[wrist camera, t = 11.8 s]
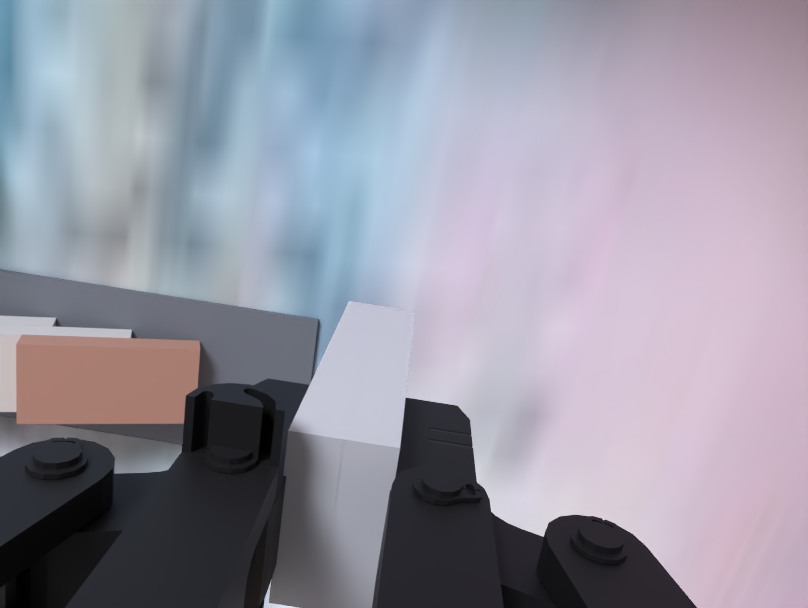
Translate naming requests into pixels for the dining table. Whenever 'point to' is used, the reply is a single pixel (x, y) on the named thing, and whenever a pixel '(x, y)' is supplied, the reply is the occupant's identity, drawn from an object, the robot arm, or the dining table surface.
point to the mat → (172, 334)
